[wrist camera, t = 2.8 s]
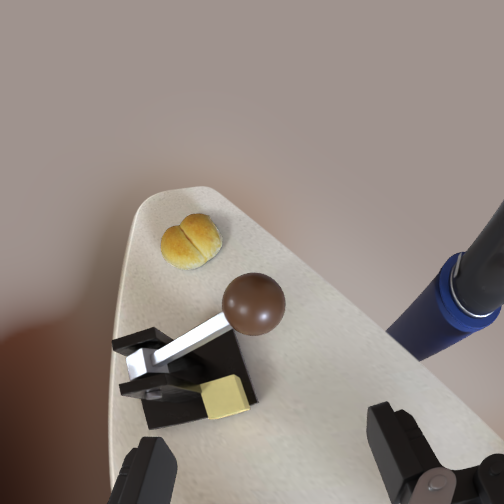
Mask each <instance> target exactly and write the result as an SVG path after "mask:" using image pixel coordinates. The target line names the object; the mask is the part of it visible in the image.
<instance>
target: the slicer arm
mask: <svg viewBox="0 0 504 504" xmlns="http://www.w3.org/2000/svg"><path fill="white" fill-rule="evenodd" d="M285 305H286V303H285V296H284V293H283V291H282V289H281V287H280V286H279V284H278V283H277V282H276V281H275V280H274V279H272V278H271V277H269V276H267V275H264V274H261V273H247V274H243V275H241V276H239V277H237V278H235V279H234V280H233V281H232V282H231V283H230V284H229V285H228V286H227V288H226V290H225V292H224V295H223V299H222V310H223V311H222V312H220V313H219V314H217V315H215V316H214V317H212V318H210V319H209V320H207V321H205V322H204V323H202V324H201V325H199V326H197V327H196V328H194V329H192V330H191V331H189V332H187V333H186V334H184V335H182V336H181V337H179V338H177V339H176V340H174V341H172V342H170V343H169V344H167V345H165V346H164V347H162V348H160V349H149V348H141V349H139V350H137V351H136V352H134V353H133V354H131V355H129V356H128V357H126V362H127V367H128V372H129V377H130V381H135V380H139V379H143V378H147V377H151V376H155V375H158V374H162V373H165V374H168V373H169V370H168V366H167V364H168V363H170V362H172V361H173V360H175V359H177V358H179V357H181V356H183V355H185V354H187V353H189V352H191V351H192V350H194V349H196V348H198V347H200V346H202V345H204V344H205V343H207V342H209V341H211V340H213V339H215V338H216V337H218V336H220V335H222V334H224V333H225V332H227V331H229V330H231V329H233V328H234V329H235V330H236V331H238V332H240V333H242V334H245V335H250V336H257V335H262V334H265V333H268V332H270V331H271V330H273V329H274V328H275V327H276V326H277V325H278V324H279V323H280V321H281V320H282V318H283V315H284V312H285Z"/></svg>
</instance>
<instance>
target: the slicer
mask: <svg viewBox="0 0 504 504" xmlns="http://www.w3.org/2000/svg"><path fill="white" fill-rule="evenodd" d="M172 341H174V340H173V339H172V338H170V337H168V336H167V335H165V334H164V333H162V332H161V331H159V330H158V329H156V328H155V327H152V328H149V329H146V330H143V331H140V332H136V333H134V334H131V335H127V336H124V337H121V338H118V339H114V340H112V347H113V351H115V352H117V353H120V354H122V355H124V356H127V357H128V356H129V355H131V354H133V353H134V352H136V351H137V350H139V349H141V348H149V349H160V348H162V347H164V346H165V345H167V344H169V343H170V342H172ZM167 366H168V370H169V373H168V374H165V373H162V374H158V375H155V376H151V377H147V378H143V379H139V380H135V381H131V382H127V383H122V384H119V388H120V393H121V395H122V396H127V397H133V398H139V399H141V401H142V405H143V409H144V413H145V417H146V421H147V424H148V428H149V430H154V429H159V428H165V427H170V426H175V425H179V424H184V423H188V422H193V421H197V420H201V419H205V418H208V415H207V412H206V408H205V405H204V402H203V399H202V395H201V393H202V390H201V386H200V384H203V383H207V382H210V381H213V380H217V379H220V378H223V377H227V376H230V375H233V374H234V375H236V376H237V377H239V378H240V380H241V383H242V386H243V389H244V392H245V394H246V397H247V400H248V403H249V406H251V405H254V404H257V403H259V401H258V399H257V396H256V393H255V390H254V387H253V384H252V382H251V379H250V376H249V373H248V370H247V367H246V364H245V361H244V358H243V355H242V352H241V349H240V346H239V343H238V340H237V337H236V334H235V331H234V328H233V329H231V330H229V331H227V332H225V333H224V334H222V335H220V336H218V337H216V338H215V339H213V340H211V341H209V342H207V343H205V344H204V345H202V346H200V347H198V348H196V349H194V350H192V351H191V352H189V353H187V354H185V355H183V356H181V357H179V358H177V359H175V360H173V361H172V362H170V363H168V364H167Z"/></svg>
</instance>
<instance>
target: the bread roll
mask: <svg viewBox="0 0 504 504" xmlns="http://www.w3.org/2000/svg"><path fill="white" fill-rule="evenodd" d="M221 246H222V235H221V233H220V232H219V230H218V228H217V227H216V225H215V224H214V223H213V222H212V220H211V218H210V217H209V215H204V214H191V215H189V216H187V217H186V218H185V219H184V220H183V221H182V223H181V224H180V225H179V226H172V227H170V228H169V229H167V230H166V232H165V233H164V235H163V237H162V240H161V252H162V255H163V257H164V259H165V260H166V261H167V262H168V263H169V264H170V265H172V266H174V267H175V268H178V269H182V270H192V269H196V268H198V267H200V266H202V265H204V264H205V263H206V262H207V261H208V260H210V259H212V258H213V257H214V256H215V255H216V254H217V253H218V251H219V250H220V248H221Z"/></svg>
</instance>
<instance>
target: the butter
mask: <svg viewBox="0 0 504 504" xmlns="http://www.w3.org/2000/svg"><path fill="white" fill-rule="evenodd" d="M200 386H201V390H202V393H201V395H202V399H203V402H204V405H205V408H206V412H207V415H208V418H209V420H211V419H219V418H223V417H227V416H230V415H234V414H237V413H241V412H244V411H247V410H250V406H249V403H248V400H247V397H246V394H245V392H244V389H243V386H242V383H241V380H240V378H239V377H237V376H236V375H234V374H233V375H230V376H227V377H223V378H220V379H217V380H213V381H210V382H207V383H203V384H200Z"/></svg>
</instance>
